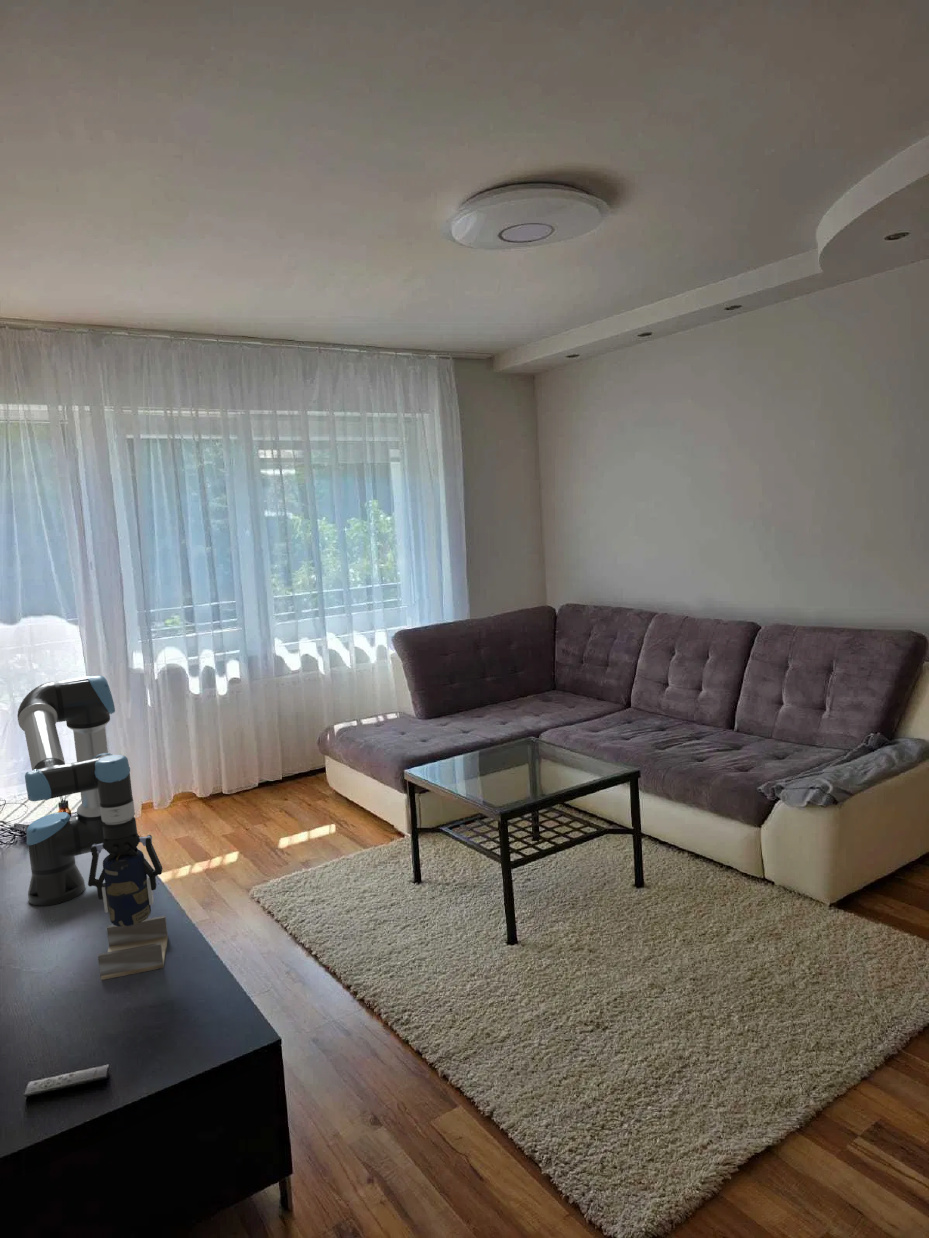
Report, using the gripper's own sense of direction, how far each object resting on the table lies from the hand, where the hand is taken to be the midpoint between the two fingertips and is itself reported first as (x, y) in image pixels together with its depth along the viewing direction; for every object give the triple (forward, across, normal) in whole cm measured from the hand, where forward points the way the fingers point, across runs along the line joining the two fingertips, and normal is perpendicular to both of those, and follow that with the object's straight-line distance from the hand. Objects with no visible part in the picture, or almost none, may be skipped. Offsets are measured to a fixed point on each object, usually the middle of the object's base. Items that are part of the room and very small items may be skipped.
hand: (129, 906), depth 203 cm
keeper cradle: (+14, 0, 0) cm, 14 cm away
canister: (+4, 0, 0) cm, 4 cm away
